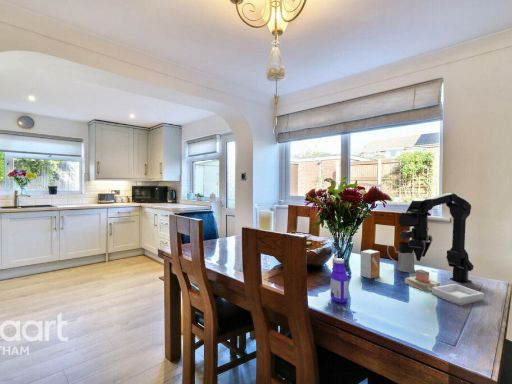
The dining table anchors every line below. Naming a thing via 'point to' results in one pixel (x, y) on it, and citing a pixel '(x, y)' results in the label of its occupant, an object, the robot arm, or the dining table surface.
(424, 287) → the socket
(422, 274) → the block
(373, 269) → the small box
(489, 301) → the dining table surface
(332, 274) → the bottle
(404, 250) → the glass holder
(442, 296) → the parts tray
